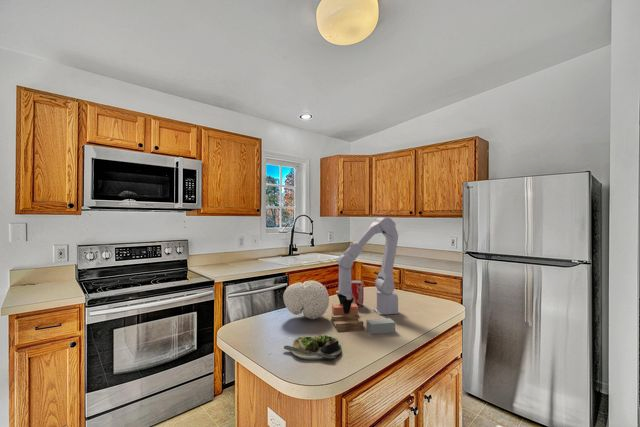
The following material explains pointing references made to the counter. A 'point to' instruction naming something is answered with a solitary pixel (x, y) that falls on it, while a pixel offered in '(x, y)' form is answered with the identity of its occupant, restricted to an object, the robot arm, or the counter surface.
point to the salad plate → (316, 347)
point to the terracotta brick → (338, 310)
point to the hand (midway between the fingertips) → (345, 311)
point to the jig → (347, 323)
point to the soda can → (357, 292)
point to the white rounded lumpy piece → (307, 299)
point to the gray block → (380, 326)
